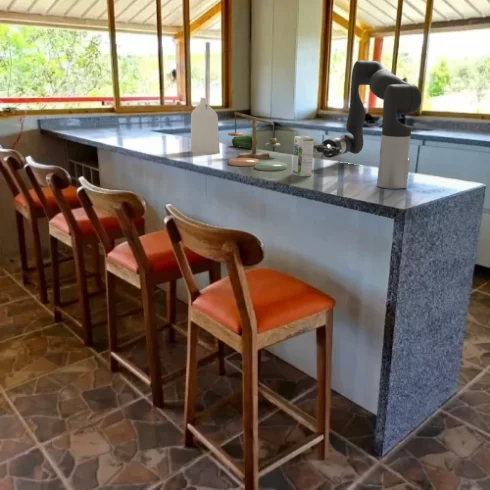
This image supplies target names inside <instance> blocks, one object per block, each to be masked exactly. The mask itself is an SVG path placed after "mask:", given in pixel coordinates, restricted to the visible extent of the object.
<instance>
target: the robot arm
mask: <svg viewBox="0 0 490 490" xmlns="http://www.w3.org/2000/svg"><path fill="white" fill-rule="evenodd" d="M350 78H351V80H350V92H349V93H350V94H349V109H348V115H347V119H346V120H347V121H346V126H345V129H346V131H347V132H348V133H343V134H342V135H341V136H340V137H331V138H327V139H324V140H323V141H322V143H319V144H314V145H313V155H315V154H317V155H323V157H325V158H334V157H338V156H341V155H344V154H347V153H348V152H349V153H351V154H359V153H361V152H362V150H363V148H364V131H363V128H364V124H365V119H366V109H365V106H364V103H363V101H362V98H361V96H360V86H369V89H370V91H371V92H372V94H373V95H374V96H376V98H378V99H380V100H383V103H382V122H381V130H382V131H381V137H380V138H381V139H380V140H381V141H380V148H379V149H380V150H379V159H378V170H377V179H376V186H377V187H380V188H381V189H382V188H383V189H392V190H393V189H396V190H398V189H399V190H400V189H406V188H408V181H409V180H408V179H409V171H410V164H411V163H410V162H411V160H410V159H409V151H410V144H411V136H412V127H411V126H409V125H407V124H403V123H401V122H400V121H399V120H398V119H397V115H410V114H414V113H416V112H417V111H418V110H419V108H420V107H421V104H422V94H421V91H420V88H419V87H418V86H417V85H416V84H412V83H410V82H406V81H404V80H403V79H401V78H400V77H398V76H397V75H396V74H394V73H393V72H391V71H390V70H388V69H386V68H385V67H384V66H383V64H382V63H381V62H379V61H377V60H364V59H363V60H362V59H361V60H357V61H355V62H354V64H353V67H352V72H351V77H350Z"/></svg>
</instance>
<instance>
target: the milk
mask: <svg viewBox="0 0 490 490" xmlns="http://www.w3.org/2000/svg"><path fill="white" fill-rule="evenodd" d="M219 131H220V130H219V116H218V113H217V112H216V111H215V109H213V108H212V107H211V106H210V105H209V104H208V98H207V97H200V102H199V104H197V105H196V106H195V107H194V109H193V110H192V111H191V114H190V152H192V153H194V154H196V155H213V154H218V155H219V154H220V153H221V151H220V149H221V148H220V133H219Z"/></svg>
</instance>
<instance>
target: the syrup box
mask: <svg viewBox="0 0 490 490" xmlns="http://www.w3.org/2000/svg"><path fill="white" fill-rule="evenodd" d="M314 140H315V138H314V137H311V136H308V135H295V136H294V139H293V155H292V156H293V157H292V175H294V176H296V177H311V176H312V173H313V158H314V153H313V145H315V144H314V143H315V141H314Z"/></svg>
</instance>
